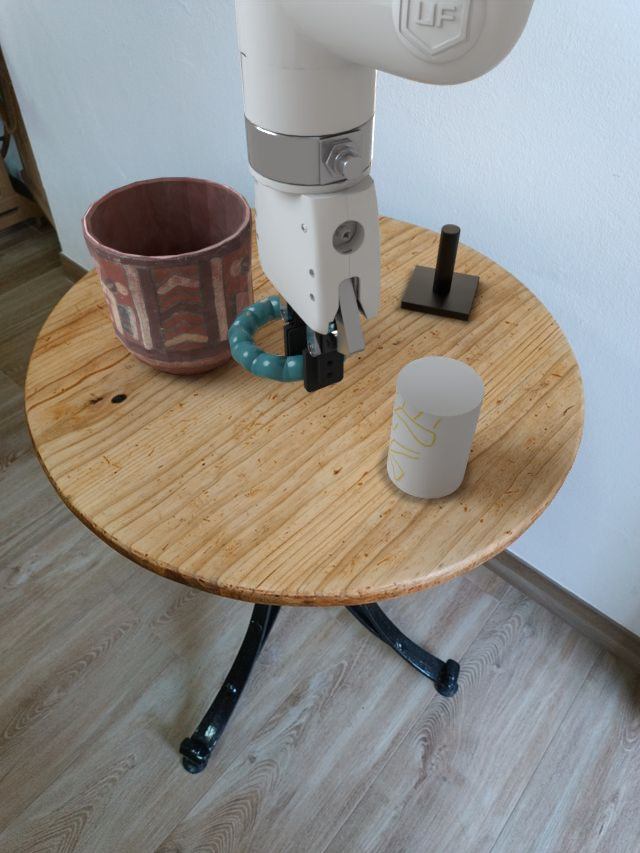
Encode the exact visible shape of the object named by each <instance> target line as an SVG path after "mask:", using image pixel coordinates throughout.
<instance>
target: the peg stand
mask: <svg viewBox="0 0 640 853" xmlns="http://www.w3.org/2000/svg"><path fill="white" fill-rule="evenodd" d="M461 230H462V229H461V228H460V226H458V225H456V224H453V223H447V224H444V225H442V226H441V228H440V236H439V243H438V249H437V255H436V262H435V267H431V266H430V267H429V266H424V265H419V264H416V265H415V266H414V269H413V271H412V274H411V277H410V279H409V282H408V284H407V286H406V288H405V291H404V294H403V297H402V299H401V301H400V309H401V310H402V309H403V310H406V311H410V312H411V311H413V312H416V313H417V312H418V313H422V314H427V315H432V316H437V317H442V318H446V319H447V318H448V319H453V320H458V321H462V322H463V321H464V322H469V319H470V315H471V312H472V308H473V305H474V301H475V298H476V294H477V290H478V286H479V284H480V278H481V276H478V275H474V274H469V273H462V272H457V271H455V265H456V260H457V254H458V248H459V244H460V243H459V242H460V237H461Z"/></svg>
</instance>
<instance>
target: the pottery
mask: <svg viewBox="0 0 640 853" xmlns="http://www.w3.org/2000/svg"><path fill="white" fill-rule="evenodd" d="M80 221H81V227H82V229H81V230H82V234H83V239H84V242H85V245H86V248H87V250H88V252H89V254H90V257H91V260H92V263H93V265H94V268H95V270H96V272H97V276H98V278H99V282H100V284H101V285H100V286H101V288H102V291H103V294H104V298H105V302H106V304H107V308H108V313H109V317H110V322H111V324H112V327H113V330H114V333H115V335H116V337H117V338H118V339H119V341H120V343H121V344H122V345H123V346H124V347H125V348H126V349H127V351H128V352H129V353H130V354H131V355H132V356H133V357H134V358H135V359H137V361H139V362H140V363H142V364H144V365H147V366H148V367H151V368H153V369H155V370H157V371H160V372H163V373H167V374H173V375H178V376H187V375H189V376H190V375H198V374H203V373H206V372H209V371H213V370H214V369H217V368H220V366H223V365H224V364H225V363H227V362H228V361H230V360H231V359H233V357H232V354H231V349H230V344H229V339H228V331H229V329H230V327H231V326H232V324H233V323H234V321H235V319H236V318H237V316H238V315H239V313H240V312H241V311H242V310H243V309H245V308H247V307H249V306H250V305H252V304H254V303H255V295H254V283H253V272H252V271H253V270H252V269H253V268H252V255H253V253H252V252H253V250H252V248H253V247H252V246H253V245H252V244H253V243H252V241H253V213H252V208H251V207H250V204H249V203H248V201H247V199H246V197H245V196H244V195H242V194H241V193H240V192H238V191H237V190H235V189H234V188H232V187H230V186H228V185H225V184H222V183H220V182H217V181H213V180H210V179H205V178H198V177H190V176H162V177H161V176H160V177H155V178H150V179H144V180H137V181H134V182H131V183H127V184H125V185H122V186H120V187H117V188H114V189H112V190H109V191H107V192H106V193H105V194H104V195H102V196H101V197H99V198H98V199H96V200H95V201H93V202H92V203H90V205H89V206H88V208H87V209H86V211H85V212H84V214H83V216H82V217H81V219H80Z"/></svg>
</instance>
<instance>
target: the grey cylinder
mask: <svg viewBox="0 0 640 853" xmlns="http://www.w3.org/2000/svg"><path fill="white" fill-rule="evenodd" d="M485 394H486V387H485V383H484V381H483V378H482V376H481V375H480V374H479V373H478V372H477V371H476V370H475V369H474V368H473V367H472V366H470V365H468V364H467V363H465V362H463V361H461V360H458V359H456V358H451V357H447V356H439V355H437V356H436V355H434V356H433V355H431V356H424V357H420V358H416V359H414V360H412V361H410V362H408V363H407V364H406V365H404V366H403V367H402V368H401V369H400V371H399V372H398V375H397V378H396V384H395V394H394V402H393V411H392V419H391V426H390V427H391V428H390V435H389V443H388V451H387V460H386V470H387V474H388V477H389V479H390V481H391V482H392V483H393V484H394V486H396V487H397V489H399V490H401V491H402V492H404V493H405V494H408V495H409V496H411V497H415V498H419V499H426V500H431V499H432V500H434V499H441V498H444V497H447V496H449V495H451V494H453V493H454V492H455V491H457V490H458V489H459V487H460V486H461V484H462V483H463V481H464V479H465V478H464V477H465V475H466V470H467V467H468V466H467V465H468V461H469V458H470V453H471V449H472V446H473V442H474V439H475V438H474V437H475V434H476V430H477V426H478V423H479V422H478V421H479V419H480V414H481V410H482V406H483V401H484V398H485Z"/></svg>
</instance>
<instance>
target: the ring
mask: <svg viewBox="0 0 640 853" xmlns="http://www.w3.org/2000/svg"><path fill="white" fill-rule="evenodd" d="M278 320H282V318H281V314H280V299H279V295H272V296H266V297H264V298H262V299H260V300H258V301H256V302H254V304H252V305H250V306H249V307H247V308H245V309H243V310H242V311H241V312H240V313H239V315H238V316H237V318H236V319H235V321H234V323H233V324H232V326H231V327H230V329H229V331H228V339H229V344H230V349H231V354H232V359H233V360H234V361H235V362H236V363H237V364H239V365H240V366H241V367H243V368H244V369H245V370H246V371H248V372H249V373H250V374H251V375H253V376H254V377H257V378H260V379H265V380H270V381H275V382H279V383H283V384H290V383H297V382H304V378H303V354H302V355H296V356H289V357H286V356H285V355H281V354H276V353H271V352H267V351H265V350H264V349H263V348H261V347H260V346H258V345H257V344H256V342H255V336H256V334H257V332H258V331H259V329H261V328H262V327H265V326H266V325H268V324H269V323H271V322H274V321H278ZM329 328H330V330H328V333H330V332H333V331H334V324H331V325H329ZM347 357H348V356H346V355H344V362H345V361H346V360H347Z"/></svg>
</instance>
